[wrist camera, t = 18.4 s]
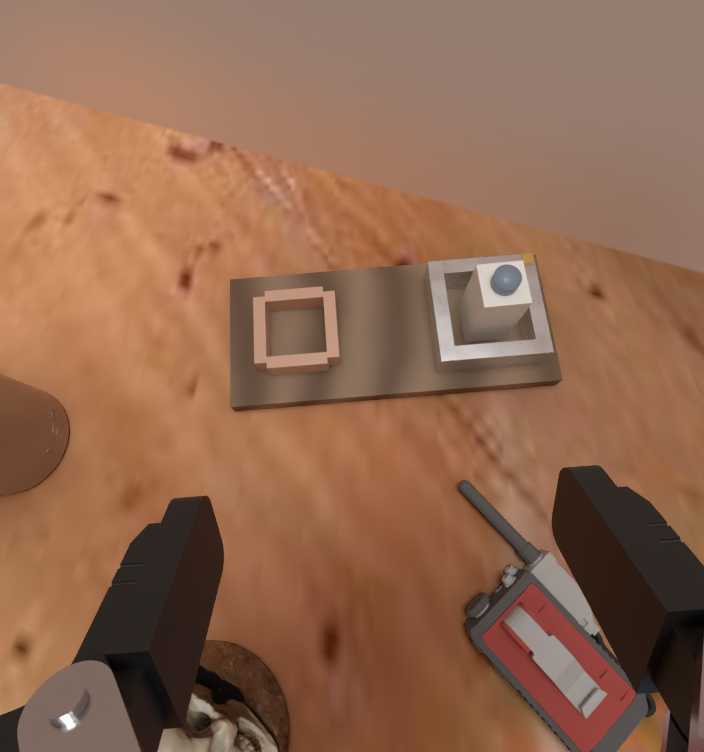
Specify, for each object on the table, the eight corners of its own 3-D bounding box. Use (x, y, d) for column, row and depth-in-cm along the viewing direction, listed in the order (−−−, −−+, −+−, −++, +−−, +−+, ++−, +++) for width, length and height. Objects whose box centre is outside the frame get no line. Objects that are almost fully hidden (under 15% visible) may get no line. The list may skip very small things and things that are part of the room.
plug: (464, 342, 41) (487, 301, 33) (458, 305, 42) (479, 257, 34) (505, 338, 41) (537, 296, 33) (497, 301, 42) (527, 253, 34)
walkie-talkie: (663, 678, 35) (466, 474, 40) (704, 700, 31) (478, 468, 35) (585, 772, 33) (390, 548, 38) (617, 809, 29) (393, 552, 34)
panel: (235, 411, 41) (230, 407, 40) (234, 287, 45) (230, 279, 43) (555, 384, 41) (562, 380, 40) (529, 263, 45) (535, 254, 43)
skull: (324, 679, 34) (258, 860, 25) (287, 745, 39) (220, 917, 30) (182, 600, 36) (71, 746, 27) (163, 673, 40) (64, 817, 31)
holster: (259, 376, 40) (254, 369, 39) (258, 302, 42) (252, 292, 41) (341, 369, 40) (339, 362, 39) (335, 295, 42) (334, 285, 41)
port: (436, 372, 40) (442, 360, 37) (423, 279, 43) (428, 260, 40) (540, 364, 40) (555, 350, 37) (521, 270, 43) (534, 251, 40)
